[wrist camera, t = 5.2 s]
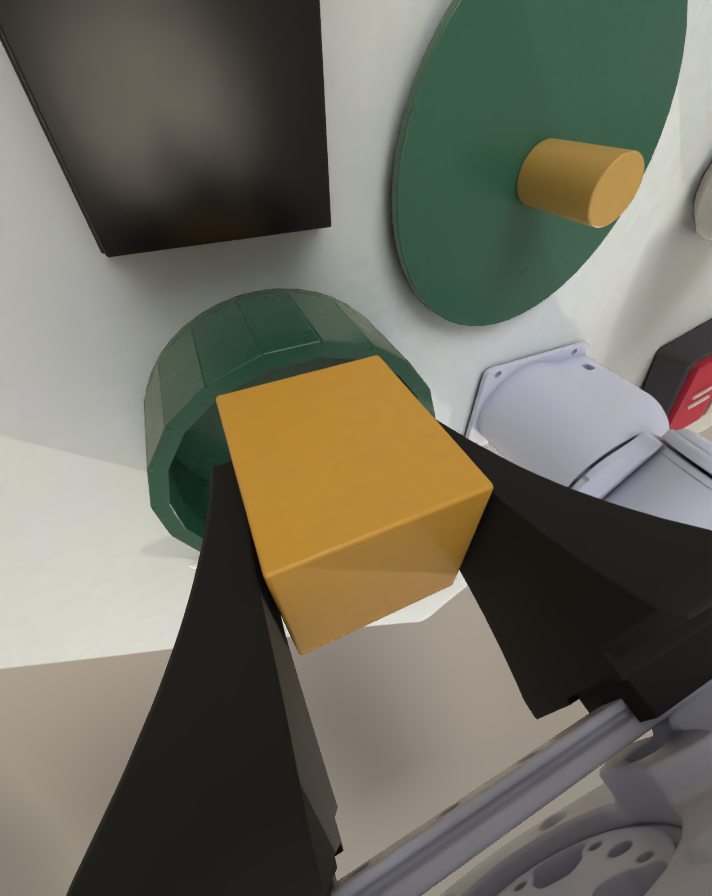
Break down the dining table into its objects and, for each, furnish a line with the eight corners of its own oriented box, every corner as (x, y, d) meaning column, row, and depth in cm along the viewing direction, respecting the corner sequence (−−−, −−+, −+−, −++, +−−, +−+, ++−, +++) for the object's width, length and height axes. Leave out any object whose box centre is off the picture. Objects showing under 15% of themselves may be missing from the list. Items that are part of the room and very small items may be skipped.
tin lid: (732, -84, 14) (923, -134, 10) (573, 294, 24) (643, 329, 21) (396, -138, 10) (530, -243, 7) (378, 341, 20) (427, 393, 17)
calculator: (806, 306, 31) (728, 422, 42) (749, 289, 34) (690, 401, 45) (698, 368, 31) (648, 468, 42) (651, 346, 34) (615, 445, 45)
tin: (396, 266, 17) (457, 309, 14) (383, 455, 27) (418, 507, 24) (84, 321, 14) (70, 397, 11) (197, 517, 23) (208, 588, 20)
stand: (293, -147, 9) (329, -194, 7) (319, 220, 15) (342, 238, 13) (-113, -209, 7) (-187, -297, 5) (102, 249, 13) (99, 274, 11)
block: (378, 352, 10) (496, 485, 7) (374, 460, 13) (454, 584, 10) (214, 395, 9) (263, 579, 6) (253, 501, 12) (299, 657, 9)
